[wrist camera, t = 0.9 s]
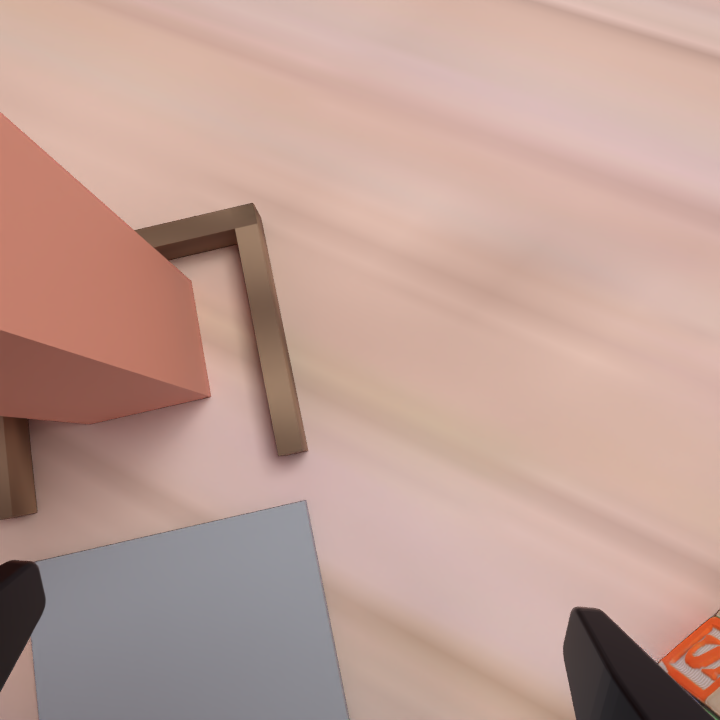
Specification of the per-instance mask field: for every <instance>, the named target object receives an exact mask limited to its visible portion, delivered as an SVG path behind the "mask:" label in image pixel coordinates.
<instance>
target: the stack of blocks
mask: <svg viewBox="0 0 720 720" xmlns="http://www.w3.org/2000/svg"><path fill="white" fill-rule="evenodd" d="M658 665H659V666H660V667H661V668H662V669H664V670H665V671H666V672H667V673H668V674H669V675H670V676H671V677H672V678H673V679H674V680H675V681H676V682H677V683H678V684H679V685H680V686H681V687H682V688H683V689H684V690H685V691H686V692H688V693H689V694H690V695H691V696H692V697H693V698H694V699H695V700H696V701H697V702H698V703H699V704H700V705H701V706H702V707H703V708H704V709H705V710H706V711H707V712H708V713H709V714H710V715H711V716H713V717H714V718H715V719H716V720H720V610H719V611H718V613H717V614H716V616H715V617H712V618H710V619H709V620H708V621H706V622H705V623H704V624H702V625H701V626H700V627H699V628H698V629H697V630H695V631H694V632H693V633H692V634H691V635H690V636H688V637H687V638H686V639H685V640H684V641H682V642H681V643H680V644H679V645H678V646H677V647H675V648H674V649H673V650H672V651H671V652H670V653H669V654H668V655H666V656H665V657H664V658H663V659H661V660H660V661H659V663H658Z"/></svg>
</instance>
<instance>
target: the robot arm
mask: <svg viewBox="0 0 720 720" xmlns="http://www.w3.org/2000/svg"><path fill="white" fill-rule="evenodd" d="M45 604H46V596H45V592H44V587H43V583H42V579H41V574H40V570H39V567H38V565H37V564H36V563H34V562H31V561H19V560H12V561H8V562H6V563H4V564H2V565H0V691H1V690H2V688H3V686H4V684H5V682H6V680H7V679H8V677H9V675H10V673H11V671H12V669H13V667H14V666H15V664H16V662H17V660H18V658H19V656H20V655H21V653H22V651H23V649H24V647H25V645H26V644H27V642H28V640H29V638H30V636H31V634H32V633H33V631H34V629H35V627H36V625H37V623H38V621H39V620H40V618H41V616H42V614H43V611H44V608H45ZM563 655H564V662H565V667H566V672H567V677H568V682H569V686H570V691H571V696H572V701H573V706H574V711H575V715H576V720H716V719H715V718H714V717H713V716H711V715H710V714H709V713H708V712H707V711H706V710H705V709H704V708H703V707H702V706H701V705H700V704H699V703H698V702H697V701H696V700H695V699H694V698H693V697H692V696H691V695H690V694H689V693H688V692H686V691H685V690H684V689H683V688H682V687H681V686H680V685H679V684H678V683H677V682H676V681H675V680H674V679H673V678H672V677H671V676H670V675H669V674H668V673H667V672H666V671H665V670H664V669H662V668H661V667H660V666H659V665H658V664H657V663H656V662H655V661H654V660H653V659H652V658H651V657H650V656H649V655H648V654H647V653H646V652H645V651H644V650H643V649H642V648H641V647H640V646H639V645H637V644H636V643H635V642H634V641H633V640H632V639H631V638H630V637H629V636H628V635H627V634H626V633H625V632H624V631H623V630H622V629H621V628H620V627H619V626H618V625H617V624H616V623H615V622H613V621H612V620H611V619H610V618H609V617H608V616H607V615H606V614H605V613H604V612H603V611H601V610H600V609H597V608H587V607H575V608H573V609H572V611H571V614H570V618H569V622H568V627H567V631H566V635H565V640H564V645H563Z"/></svg>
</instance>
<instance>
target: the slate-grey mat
mask: <svg viewBox="0 0 720 720" xmlns="http://www.w3.org/2000/svg"><path fill="white" fill-rule="evenodd" d="M34 563H36V564H37V565H38V567H39V570H40V574H41V579H42V583H43V587H44V592H45V596H46V604H45V608H44V611H43V614H42V616H41V618H40V620H39V621H38V623H37V625H36V627H35V629H34V631H33V633H32V634H31V641H32V651H33V661H34V672H35V682H36V692H37V703H38V713H39V720H350V719H349V714H348V709H347V704H346V699H345V694H344V689H343V684H342V679H341V674H340V669H339V664H338V659H337V654H336V649H335V644H334V639H333V634H332V628H331V623H330V618H329V613H328V608H327V603H326V598H325V593H324V588H323V583H322V578H321V573H320V568H319V563H318V558H317V553H316V548H315V543H314V537H313V532H312V527H311V522H310V517H309V512H308V507H307V502H306V500H304V501H300V502H295V503H291V504H287V505H282V506H278V507H273V508H269V509H265V510H260V511H256V512H251V513H247V514H243V515H238V516H234V517H230V518H225V519H221V520H216V521H212V522H208V523H203V524H199V525H194V526H190V527H186V528H181V529H177V530H172V531H168V532H164V533H159V534H155V535H150V536H146V537H142V538H137V539H133V540H128V541H124V542H120V543H115V544H111V545H106V546H102V547H98V548H93V549H89V550H84V551H80V552H76V553H71V554H67V555H63V556H58V557H54V558H49V559H45V560H41V561H36V562H34Z"/></svg>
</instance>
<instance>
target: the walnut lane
mask: <svg viewBox="0 0 720 720" xmlns="http://www.w3.org/2000/svg"><path fill="white" fill-rule="evenodd" d="M134 231H135V232H136V233H138V234H139V235H140V236H141V237H142V238H143V239H144V240H146V241H147V242H148V243H149V244H150V245H151V246H152V247H153V248H155V249H156V250H157V251H158V252H159V253H160V254H161V255H162V256H164V257H165V258H166V259H167V260H170V259H175V258H179V257H183V256H188V255H192V254H196V253H201V252H205V251H209V250H214V249H218V248H222V247H227V246H231V245H235V244H238V247H239V252H240V258H241V263H242V268H243V273H244V279H245V284H246V289H247V294H248V300H249V305H250V310H251V315H252V320H253V326H254V331H255V336H256V341H257V347H258V352H259V357H260V362H261V368H262V373H263V378H264V383H265V389H266V394H267V399H268V404H269V409H270V415H271V420H272V425H273V430H274V436H275V441H276V446H277V451H278V456H287V455H291V454H295V453H300V452H304V451H308V447H307V442H306V438H305V433H304V428H303V423H302V418H301V413H300V408H299V403H298V398H297V393H296V388H295V383H294V378H293V373H292V368H291V363H290V358H289V353H288V348H287V344H286V339H285V334H284V329H283V324H282V319H281V314H280V309H279V304H278V299H277V294H276V289H275V284H274V279H273V274H272V269H271V264H270V259H269V254H268V249H267V245H266V240H265V235H264V230H263V225H262V220H261V217H260V215H259V213H258V211H257V209H256V207H255V205H254V204H253V203H250V204H246V205H241V206H237V207H233V208H229V209H224V210H220V211H216V212H211V213H207V214H203V215H198V216H194V217H190V218H185V219H181V220H177V221H172V222H168V223H164V224H159V225H155V226H151V227H146V228H142V229H138V230H134ZM32 513H37V506H36V497H35V487H34V477H33V467H32V458H31V448H30V438H29V429H28V419H27V418H16V417H6V416H0V520H4V519H9V518H15V517H19V516H24V515H28V514H32Z"/></svg>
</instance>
